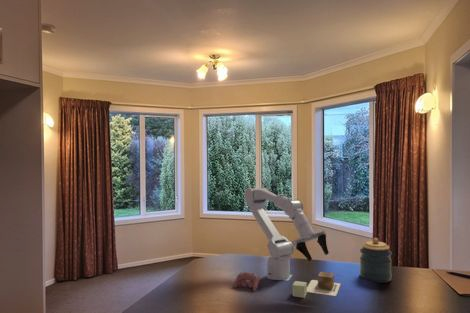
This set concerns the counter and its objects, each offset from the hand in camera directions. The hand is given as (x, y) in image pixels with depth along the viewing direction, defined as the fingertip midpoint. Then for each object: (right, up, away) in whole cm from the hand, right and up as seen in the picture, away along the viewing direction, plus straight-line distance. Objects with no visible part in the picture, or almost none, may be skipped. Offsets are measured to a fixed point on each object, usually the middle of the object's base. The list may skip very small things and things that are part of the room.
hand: (318, 257), depth 146 cm
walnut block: (+4, -14, +6) cm, 15 cm away
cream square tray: (+3, -14, +5) cm, 15 cm away
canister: (+28, -14, +17) cm, 36 cm away
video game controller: (-28, -15, +7) cm, 32 cm away
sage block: (-8, -15, -2) cm, 17 cm away
